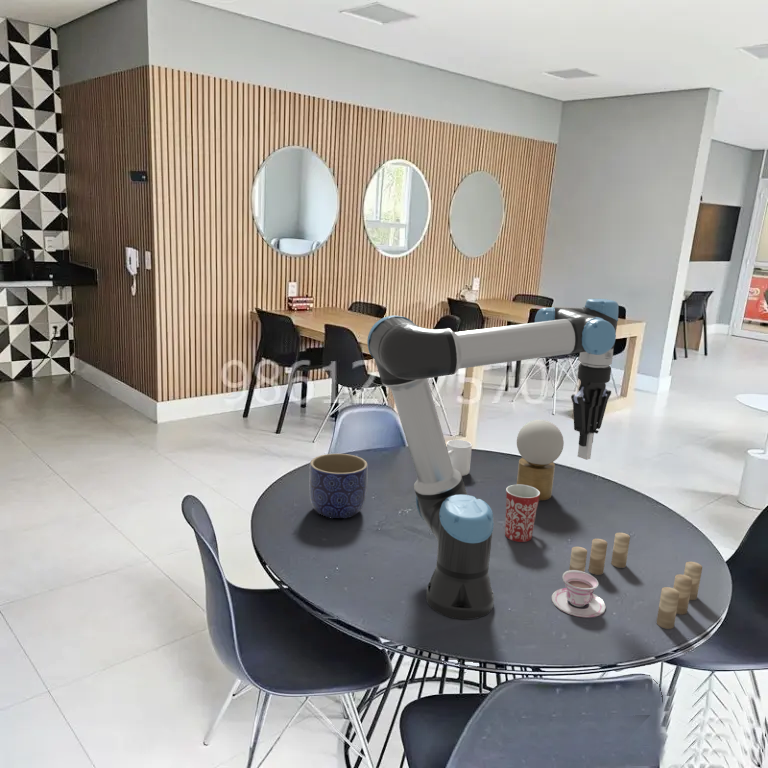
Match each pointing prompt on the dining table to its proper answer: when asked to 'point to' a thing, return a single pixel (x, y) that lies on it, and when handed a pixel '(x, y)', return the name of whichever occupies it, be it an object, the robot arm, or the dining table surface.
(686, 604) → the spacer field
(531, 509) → the mug
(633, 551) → the dining table surface
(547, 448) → the lamp
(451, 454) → the cup
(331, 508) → the planter
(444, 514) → the robot arm
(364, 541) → the dining table surface
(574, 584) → the teacup
